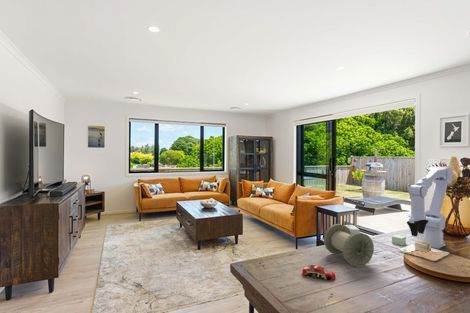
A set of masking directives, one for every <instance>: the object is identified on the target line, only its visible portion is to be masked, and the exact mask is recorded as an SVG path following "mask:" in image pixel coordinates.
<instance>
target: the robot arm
mask: <svg viewBox="0 0 470 313" xmlns="http://www.w3.org/2000/svg"><path fill="white" fill-rule="evenodd" d="M453 177H454V171H453V168H452V167H451V166H434V165H433V166H432V165H431V166H430V167H429V168H428V171H427V174H426V176H425V177H421V178H420V179H418V181H417V182H416V183H415V184H412V185H409V188H408V195H409V199H410V215H408V217H409V218H408V220H407V221H406V224H407V225H408V228H409V230H410V234H411V236H412V237H418V235H419V234H423V235H424V240H423V241H424V242H428V243H431V248H433V249H437V250H440V249H441V248H442V247H444V246H446V244H445V243H444V232H443V230H444V229H445V228H446V217H445V215H443V213H441V211H442V208H443V204H444V200H445V196H446V191H447V188H448V185H449V184H451V183H452V179H453ZM433 183H434V184H435V186H434V190H433V194H432V199H431V203H430V206H429V210H425V197H426V196H427V193H428V191H429V189H430V188H431V187H432V186H433Z"/></svg>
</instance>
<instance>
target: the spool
mask: <svg viewBox="0 0 470 313" xmlns="http://www.w3.org/2000/svg"><path fill="white" fill-rule="evenodd" d="M323 244H324V247H325V249H327V251H328V252H329V253H331V254H334V255H336V254H337V255H343V257H344V259H345V261H346V262H347V263H348V264H349V265H350V266H353V267H356V268H358V267H364V266H365V265H367V264H369V262H370V261H371V259H373V255H374V252H375V249H374V248H375V247H374V246H375V245H374V242H373V240H372V238H371V237H370V236H369V235H368V234H365V233H363V232H358V233H353V234H352V235H351V233H350V230H349V229H348V228H347V227H346V226H345V225H344V224H341V223H334V224H332V225H331V226H328V228H327V229H326V231H325V233H324V236H323Z"/></svg>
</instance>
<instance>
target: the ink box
mask: <svg viewBox="0 0 470 313" xmlns="http://www.w3.org/2000/svg"><path fill="white" fill-rule="evenodd" d="M344 226H346V227H347V228H348V229H349V230H350V233H351V235H352V234H353V233H358V232H360V231H361V230H360V229H359V227H357V226H355V225H354V224H345V225H344Z"/></svg>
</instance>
